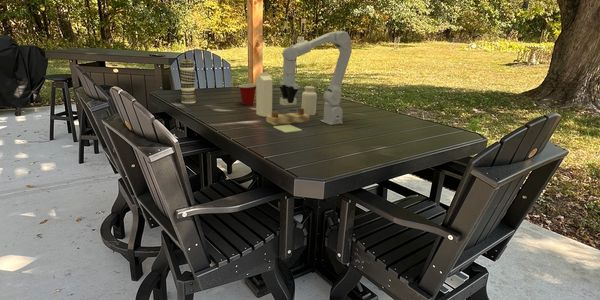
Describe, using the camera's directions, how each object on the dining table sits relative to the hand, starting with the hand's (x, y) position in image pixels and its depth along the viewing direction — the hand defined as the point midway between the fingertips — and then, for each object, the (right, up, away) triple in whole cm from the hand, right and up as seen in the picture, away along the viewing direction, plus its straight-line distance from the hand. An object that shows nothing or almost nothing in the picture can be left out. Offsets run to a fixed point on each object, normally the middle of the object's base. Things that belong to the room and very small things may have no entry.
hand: (288, 102), depth 186 cm
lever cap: (0, -1, 0) cm, 1 cm away
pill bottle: (+10, -4, +25) cm, 27 cm away
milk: (-13, -5, +19) cm, 24 cm away
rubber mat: (0, -13, -8) cm, 16 cm away
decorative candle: (-61, +6, +46) cm, 77 cm away
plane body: (0, -9, +7) cm, 11 cm away
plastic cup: (-26, +4, +44) cm, 51 cm away
